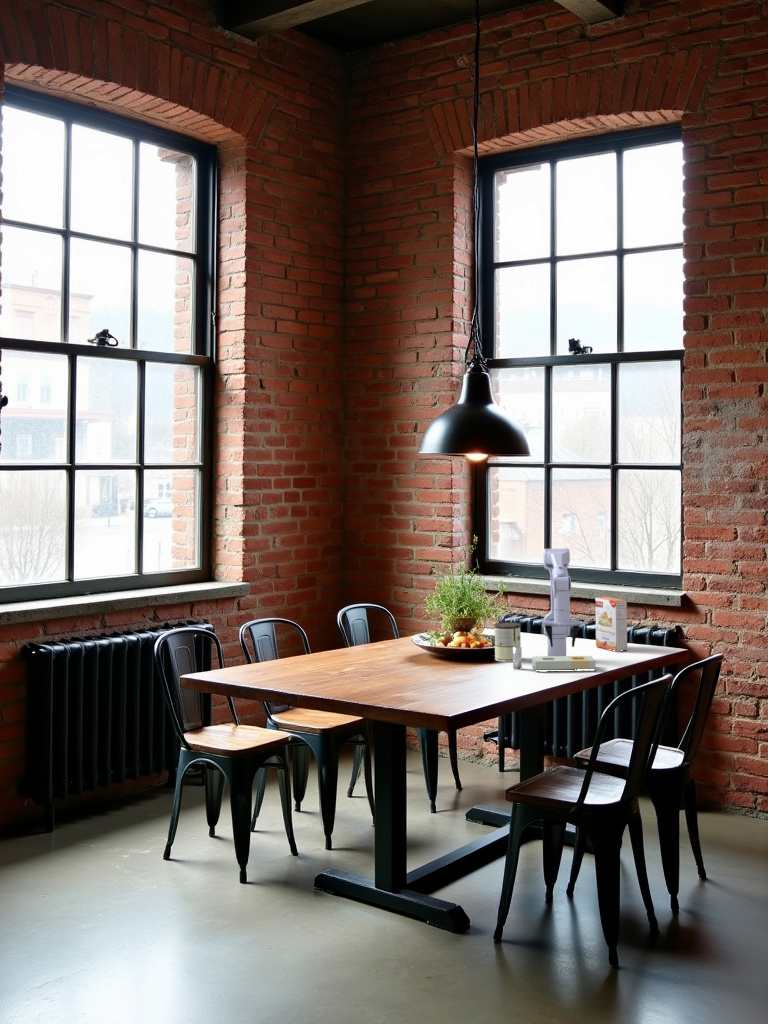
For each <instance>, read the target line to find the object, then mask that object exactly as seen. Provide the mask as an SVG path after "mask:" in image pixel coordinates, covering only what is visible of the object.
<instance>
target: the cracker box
mask: <svg viewBox="0 0 768 1024" xmlns="http://www.w3.org/2000/svg"><path fill="white" fill-rule="evenodd" d="M596 646H597V647H596ZM595 647H596V648H599V647H602V648H601V649H603V648H606V649H605V650H607V649H611V650H615V651H621V650H627V651H628V602H627V600H626V599H620V598H616V597H615V598H614V597H610V596H598V597H595ZM611 650H610V651H611ZM621 652H622V651H621Z"/></svg>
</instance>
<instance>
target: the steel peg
mask: <svg viewBox="0 0 768 1024" xmlns="http://www.w3.org/2000/svg"><path fill="white" fill-rule="evenodd" d="M522 652H523V651H522V646H521V647H513V662H512V669H513V668H514V669H513V670H515V669H520V668H522V669H523V667H522V666H523V665H522V664H523V663H522V660H523V659H522ZM520 670H521V669H520Z"/></svg>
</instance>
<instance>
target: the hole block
mask: <svg viewBox="0 0 768 1024" xmlns="http://www.w3.org/2000/svg"><path fill="white" fill-rule="evenodd" d="M533 667H534V669H535V670H575V669H576V670H577V669H595V670H596V659H595V658H594V657H593V656H591V655H566V656H548V655H544V656H538V655H537V656H532V668H533ZM534 669H533V670H534ZM535 670H534V671H535Z"/></svg>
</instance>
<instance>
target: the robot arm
mask: <svg viewBox="0 0 768 1024" xmlns="http://www.w3.org/2000/svg"><path fill="white" fill-rule="evenodd" d="M570 554H571V551H570V549H569V548H568V547H567V548H544V549H543V554H542V555H543V556H542V557H543V567H544V569H545V570H548V572H549V574H550V577H549V578H550V612H549V613H547V614H545V616H544V618H543V620H541V628H543V635H544V636H545V637H547V656H567V638H568V637H569V636H570V635H571V634H572V636H571V638H572V639H571V647H572V648H574V647H575V643H576V639H577V637H578V634H579V632H580V628H583V621H582V620H571V604H570V603H571V596H570V595H571V594H570V593H571V591H572V579H571V576H570V575H569V572H568V568H569V565H570V563H571V560H570V559H571V555H570ZM571 632H572V633H571ZM570 633H571V634H570Z"/></svg>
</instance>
